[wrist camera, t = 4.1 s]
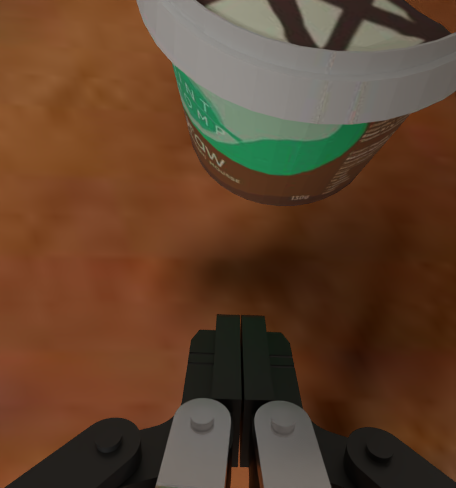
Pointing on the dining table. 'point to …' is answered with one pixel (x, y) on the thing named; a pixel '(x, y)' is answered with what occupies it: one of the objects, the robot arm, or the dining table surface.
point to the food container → (298, 86)
